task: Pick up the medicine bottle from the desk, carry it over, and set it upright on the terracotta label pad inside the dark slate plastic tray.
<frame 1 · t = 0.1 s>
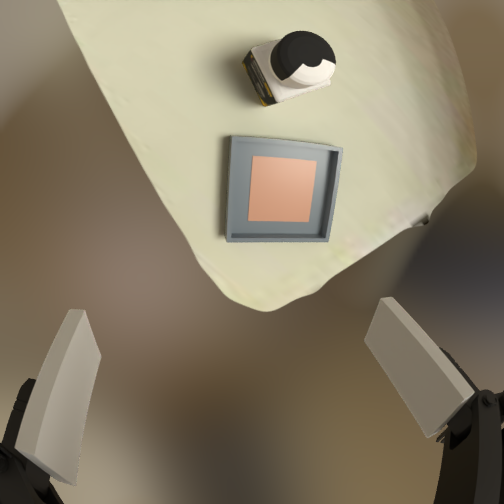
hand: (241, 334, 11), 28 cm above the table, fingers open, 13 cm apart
medicine bottle: (276, 75, 31), on the table
tray: (280, 188, 38), on the table
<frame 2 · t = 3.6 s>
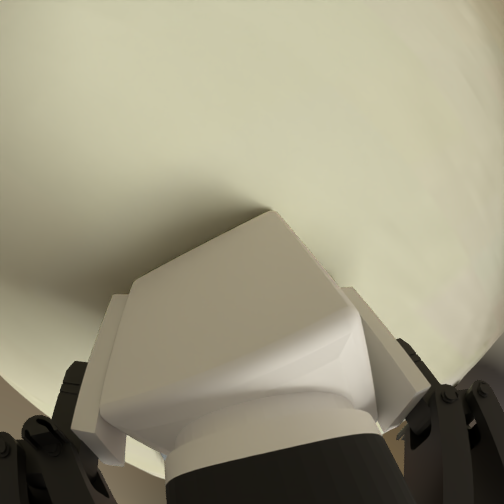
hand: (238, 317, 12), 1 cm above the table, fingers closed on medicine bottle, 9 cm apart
medicine bottle: (234, 300, 13), on the table, touching gripper
when the fingers open (3 cm above the table, at t = 10.4 s): medicine bottle drops 1 cm, resting on tray.
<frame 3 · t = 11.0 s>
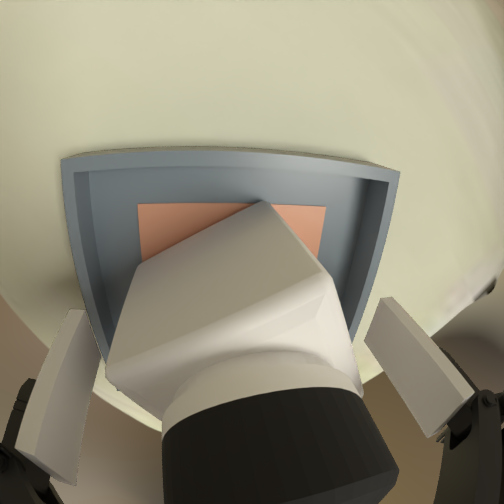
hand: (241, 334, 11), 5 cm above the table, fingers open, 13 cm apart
medicine bottle: (230, 285, 14), point 1 cm above the table, touching tray
tray: (229, 278, 15), on the table
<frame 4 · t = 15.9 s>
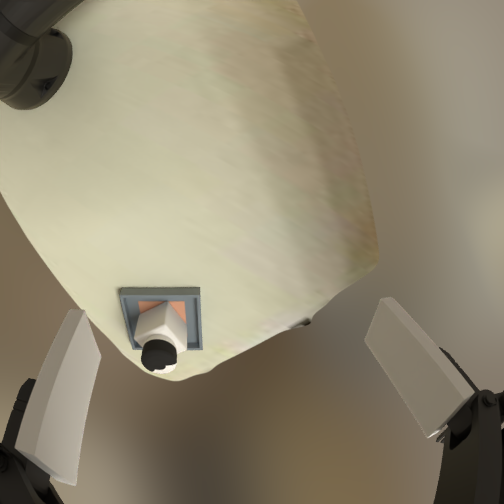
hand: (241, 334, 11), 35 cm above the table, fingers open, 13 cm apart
medicine bottle: (163, 319, 51), point 1 cm above the table, touching tray
tray: (163, 317, 51), on the table
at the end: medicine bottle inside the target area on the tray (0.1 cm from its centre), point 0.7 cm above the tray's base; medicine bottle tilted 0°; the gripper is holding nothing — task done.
